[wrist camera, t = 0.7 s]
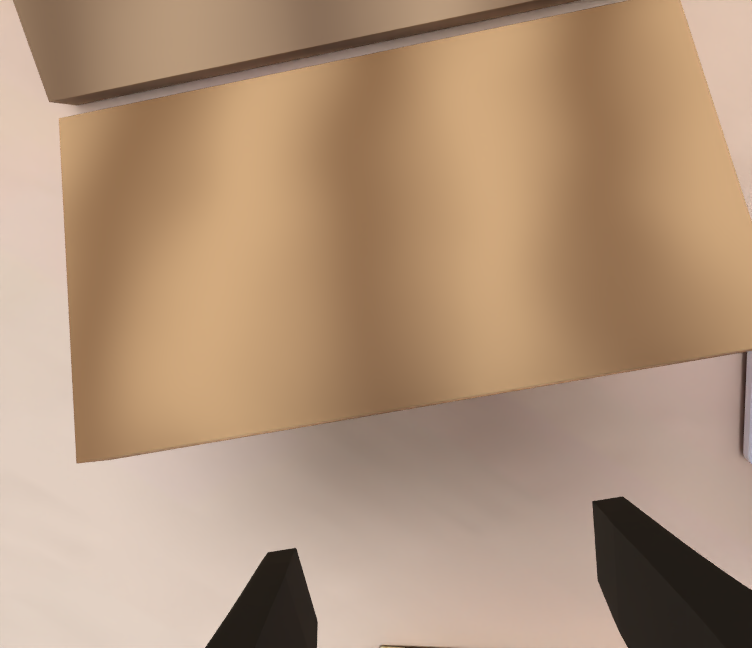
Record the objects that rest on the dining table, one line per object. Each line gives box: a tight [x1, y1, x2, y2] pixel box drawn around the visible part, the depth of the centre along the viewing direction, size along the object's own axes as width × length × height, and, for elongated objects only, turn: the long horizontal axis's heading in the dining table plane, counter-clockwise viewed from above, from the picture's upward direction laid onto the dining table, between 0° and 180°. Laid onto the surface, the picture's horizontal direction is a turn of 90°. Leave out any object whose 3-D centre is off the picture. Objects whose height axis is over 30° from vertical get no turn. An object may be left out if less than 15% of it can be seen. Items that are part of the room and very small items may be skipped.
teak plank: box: [59, 0, 752, 463], centre depth 15 cm, size 18×10×2 cm, turn 101°
